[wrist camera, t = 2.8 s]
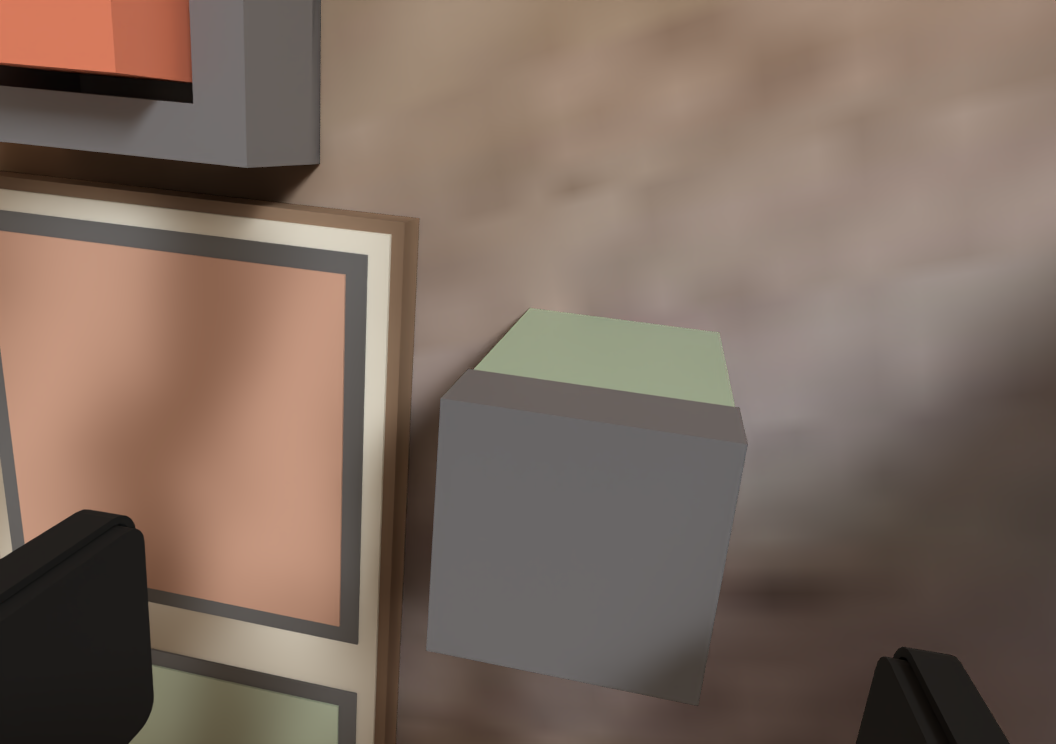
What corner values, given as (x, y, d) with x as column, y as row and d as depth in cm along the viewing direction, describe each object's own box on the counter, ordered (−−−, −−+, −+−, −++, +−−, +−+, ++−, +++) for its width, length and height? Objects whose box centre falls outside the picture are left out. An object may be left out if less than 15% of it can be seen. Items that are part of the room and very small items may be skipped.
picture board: (419, 218, 18) (401, 223, 17) (386, 955, 25) (372, 994, 24) (-25, 167, 20) (-68, 169, 19) (63, 867, 27) (36, 900, 26)
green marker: (721, 330, 17) (748, 444, 11) (691, 507, 19) (698, 705, 12) (528, 305, 18) (440, 398, 11) (512, 478, 19) (425, 650, 13)
